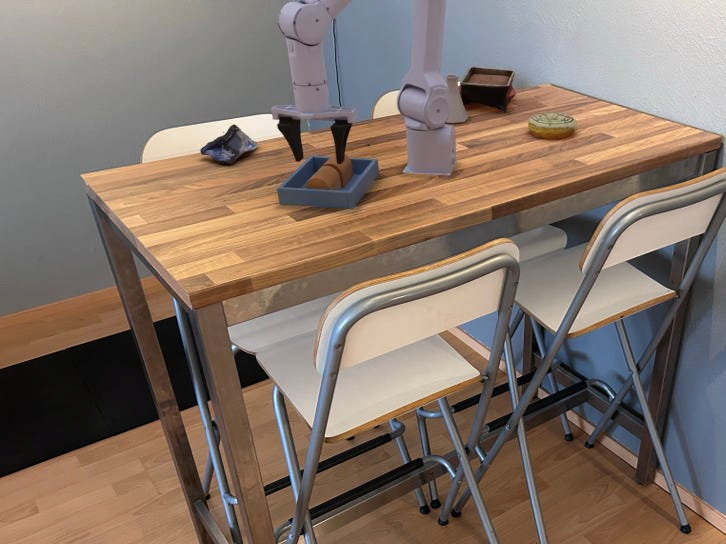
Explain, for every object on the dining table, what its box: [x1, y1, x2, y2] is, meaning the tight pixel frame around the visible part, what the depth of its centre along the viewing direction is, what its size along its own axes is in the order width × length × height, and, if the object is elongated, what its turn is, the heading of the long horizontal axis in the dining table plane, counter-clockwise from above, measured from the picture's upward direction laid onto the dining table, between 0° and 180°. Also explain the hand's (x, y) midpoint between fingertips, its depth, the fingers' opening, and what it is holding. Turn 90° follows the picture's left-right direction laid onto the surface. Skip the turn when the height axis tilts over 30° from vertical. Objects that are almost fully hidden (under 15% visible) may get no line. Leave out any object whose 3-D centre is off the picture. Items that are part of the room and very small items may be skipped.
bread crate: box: [276, 155, 380, 210], centre depth 137 cm, size 14×17×4 cm
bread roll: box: [306, 166, 342, 191], centre depth 134 cm, size 4×6×5 cm
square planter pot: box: [458, 66, 517, 113], centre depth 182 cm, size 14×18×10 cm
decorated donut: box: [527, 112, 578, 140], centre depth 164 cm, size 10×11×4 cm
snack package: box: [199, 124, 259, 165], centre depth 153 cm, size 12×6×12 cm
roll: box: [322, 152, 353, 188], centre depth 140 cm, size 4×6×5 cm
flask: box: [444, 73, 469, 124], centre depth 172 cm, size 7×7×10 cm
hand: (320, 161), depth 131 cm, fingers open, 7 cm apart
